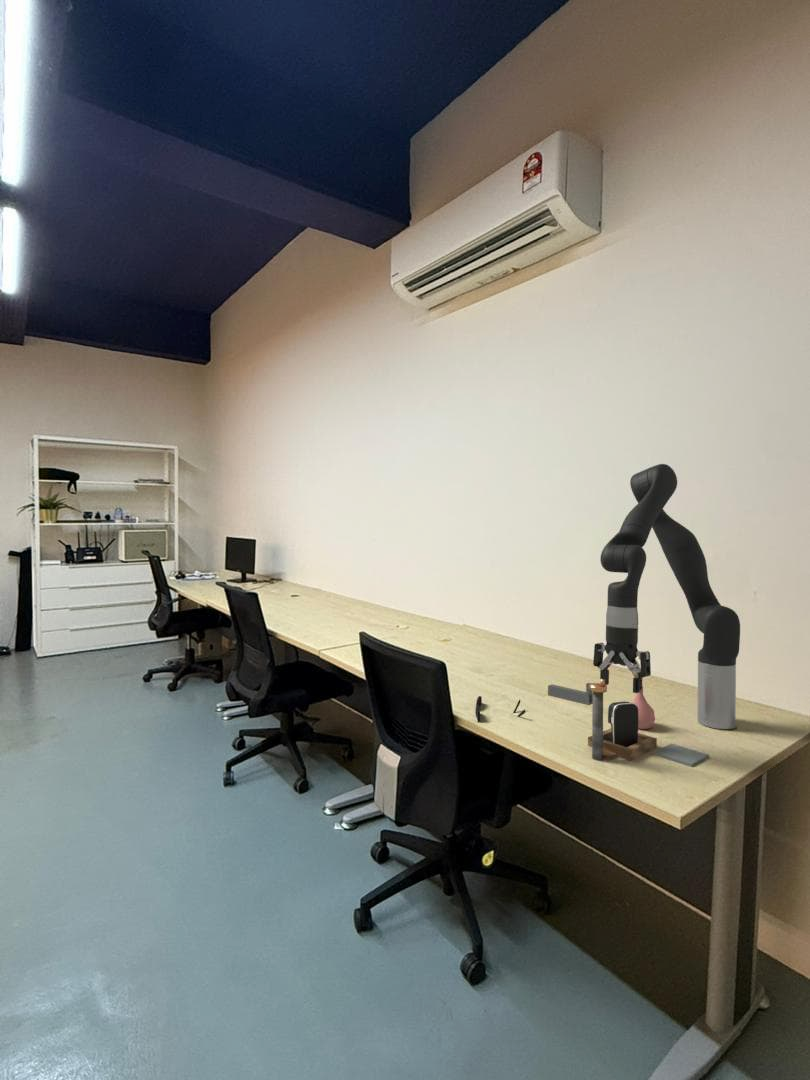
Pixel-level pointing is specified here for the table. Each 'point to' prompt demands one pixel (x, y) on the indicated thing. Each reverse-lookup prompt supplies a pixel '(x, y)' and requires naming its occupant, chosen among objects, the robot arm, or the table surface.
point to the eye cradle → (601, 738)
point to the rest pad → (681, 754)
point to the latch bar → (577, 692)
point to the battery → (623, 723)
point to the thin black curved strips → (479, 702)
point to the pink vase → (644, 711)
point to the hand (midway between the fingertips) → (620, 688)
